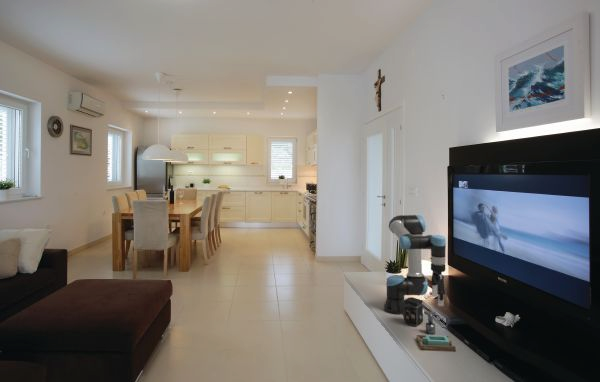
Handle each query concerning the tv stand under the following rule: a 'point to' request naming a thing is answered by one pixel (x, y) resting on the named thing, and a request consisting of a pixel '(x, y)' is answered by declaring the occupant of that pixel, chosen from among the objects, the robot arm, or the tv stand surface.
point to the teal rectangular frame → (436, 340)
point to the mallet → (430, 323)
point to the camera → (413, 311)
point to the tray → (435, 348)
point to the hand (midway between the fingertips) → (437, 300)
